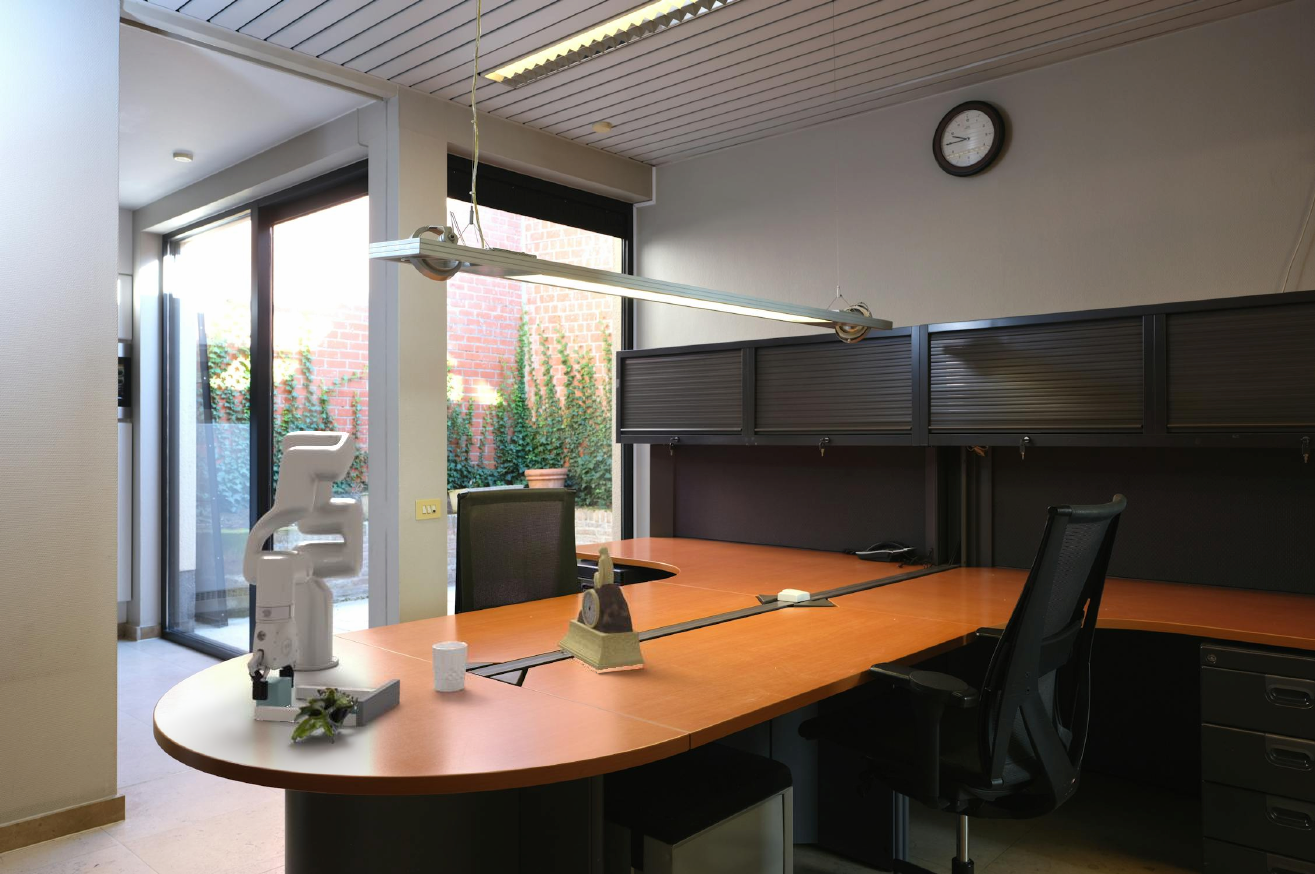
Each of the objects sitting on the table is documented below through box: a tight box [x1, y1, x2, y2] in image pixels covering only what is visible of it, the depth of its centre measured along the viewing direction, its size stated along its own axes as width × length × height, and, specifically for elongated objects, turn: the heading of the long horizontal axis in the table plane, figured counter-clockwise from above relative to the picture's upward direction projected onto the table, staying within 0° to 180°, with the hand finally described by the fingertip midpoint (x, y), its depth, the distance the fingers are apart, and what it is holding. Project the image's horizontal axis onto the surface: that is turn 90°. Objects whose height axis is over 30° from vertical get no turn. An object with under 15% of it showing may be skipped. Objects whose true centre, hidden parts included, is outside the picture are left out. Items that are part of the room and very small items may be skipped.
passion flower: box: [290, 686, 359, 744], centre depth 169 cm, size 11×11×12 cm
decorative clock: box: [556, 545, 645, 670], centre depth 235 cm, size 28×13×30 cm, turn 27°
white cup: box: [431, 641, 468, 693], centre depth 205 cm, size 8×8×10 cm
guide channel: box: [254, 678, 401, 727], centre depth 187 cm, size 24×17×5 cm
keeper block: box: [255, 675, 292, 707], centre depth 188 cm, size 5×5×6 cm
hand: (273, 693), depth 188 cm, fingers open, 9 cm apart
